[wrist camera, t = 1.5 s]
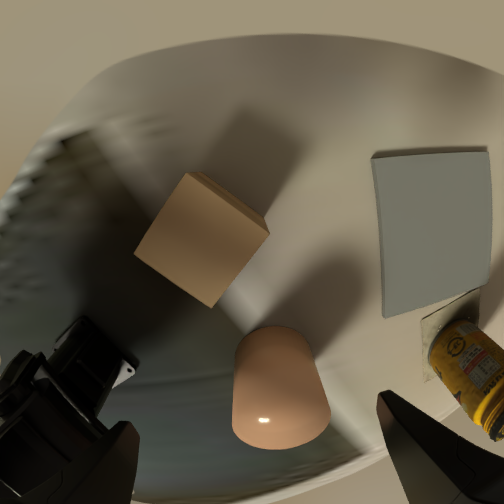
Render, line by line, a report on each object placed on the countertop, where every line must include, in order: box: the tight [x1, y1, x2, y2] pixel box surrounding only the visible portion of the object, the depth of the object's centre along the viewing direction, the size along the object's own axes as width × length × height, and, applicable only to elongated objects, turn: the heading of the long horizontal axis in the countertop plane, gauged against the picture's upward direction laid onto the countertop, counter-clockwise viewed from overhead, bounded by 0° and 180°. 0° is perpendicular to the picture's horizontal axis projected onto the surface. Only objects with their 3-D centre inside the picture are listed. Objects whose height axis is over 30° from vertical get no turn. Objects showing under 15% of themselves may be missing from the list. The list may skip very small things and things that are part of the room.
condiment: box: [421, 288, 504, 442], centre depth 17 cm, size 7×8×12 cm
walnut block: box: [134, 172, 270, 308], centre depth 17 cm, size 5×5×5 cm
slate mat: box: [371, 152, 492, 319], centre depth 19 cm, size 12×12×1 cm
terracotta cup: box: [232, 326, 331, 449], centre depth 19 cm, size 6×6×7 cm
